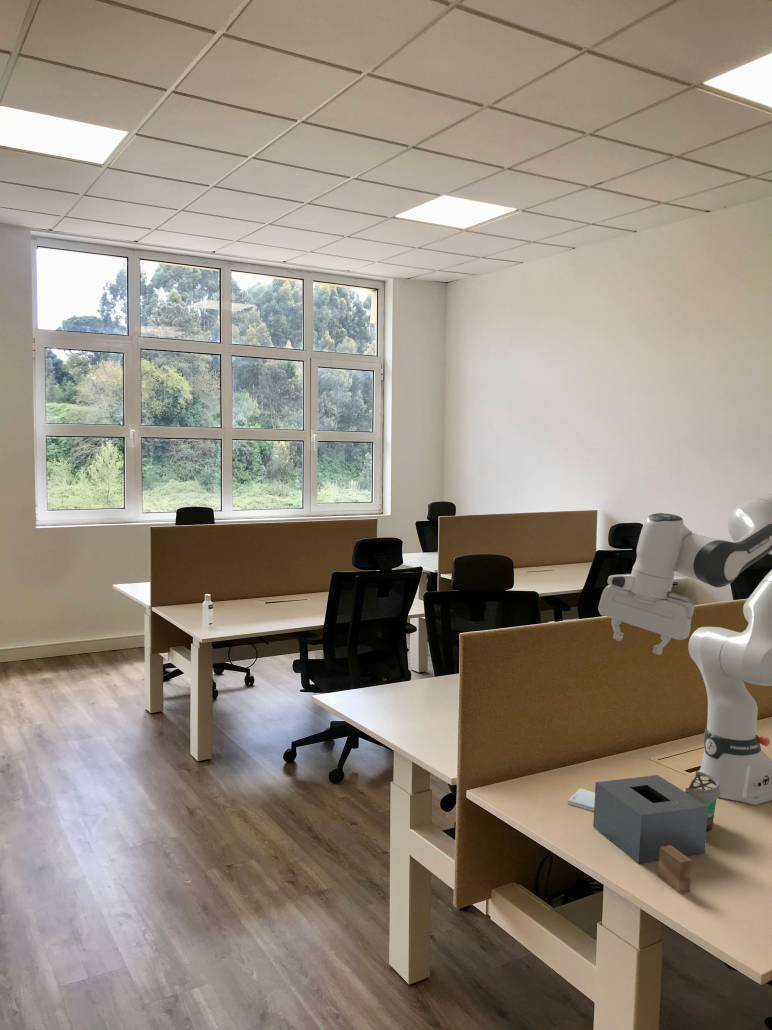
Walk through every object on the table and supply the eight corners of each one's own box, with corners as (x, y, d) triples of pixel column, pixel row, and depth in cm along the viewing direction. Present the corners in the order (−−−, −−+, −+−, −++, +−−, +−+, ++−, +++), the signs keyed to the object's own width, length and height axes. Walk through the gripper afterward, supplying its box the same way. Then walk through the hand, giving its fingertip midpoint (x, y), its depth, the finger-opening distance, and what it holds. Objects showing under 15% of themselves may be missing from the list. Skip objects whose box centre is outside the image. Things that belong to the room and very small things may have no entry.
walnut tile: (668, 874, 153) (670, 845, 152) (689, 891, 147) (691, 860, 147) (657, 876, 152) (659, 846, 152) (678, 893, 146) (680, 862, 146)
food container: (712, 841, 167) (715, 795, 166) (682, 833, 170) (685, 788, 169) (722, 819, 177) (725, 776, 176) (693, 812, 180) (696, 769, 180)
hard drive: (567, 799, 183) (621, 814, 176) (580, 787, 189) (632, 801, 182) (567, 806, 183) (620, 821, 176) (579, 794, 189) (631, 808, 183)
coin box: (654, 818, 177) (657, 775, 176) (704, 853, 162) (707, 806, 161) (593, 826, 172) (595, 782, 171) (638, 863, 156) (641, 815, 156)
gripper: (702, 598, 168) (687, 660, 170) (615, 573, 182) (602, 631, 183) (690, 600, 164) (676, 664, 165) (602, 574, 177) (589, 633, 179)
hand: (636, 646), depth 174 cm, fingers open, 8 cm apart
